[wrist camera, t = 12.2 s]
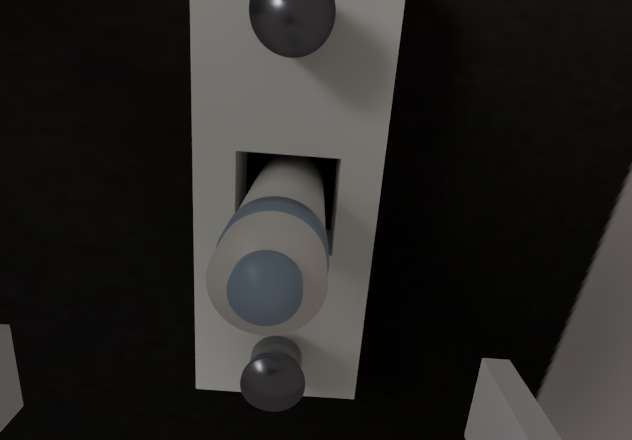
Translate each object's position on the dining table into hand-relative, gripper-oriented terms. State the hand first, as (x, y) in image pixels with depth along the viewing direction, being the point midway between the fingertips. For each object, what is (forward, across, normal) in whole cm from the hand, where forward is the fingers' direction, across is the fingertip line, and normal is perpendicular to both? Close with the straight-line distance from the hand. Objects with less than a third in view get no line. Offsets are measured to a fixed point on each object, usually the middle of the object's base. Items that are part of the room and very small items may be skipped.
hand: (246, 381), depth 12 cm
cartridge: (+22, 0, 0) cm, 22 cm away
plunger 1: (+16, 0, +11) cm, 19 cm away
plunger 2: (+16, 0, -11) cm, 19 cm away
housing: (+22, 0, 0) cm, 22 cm away
